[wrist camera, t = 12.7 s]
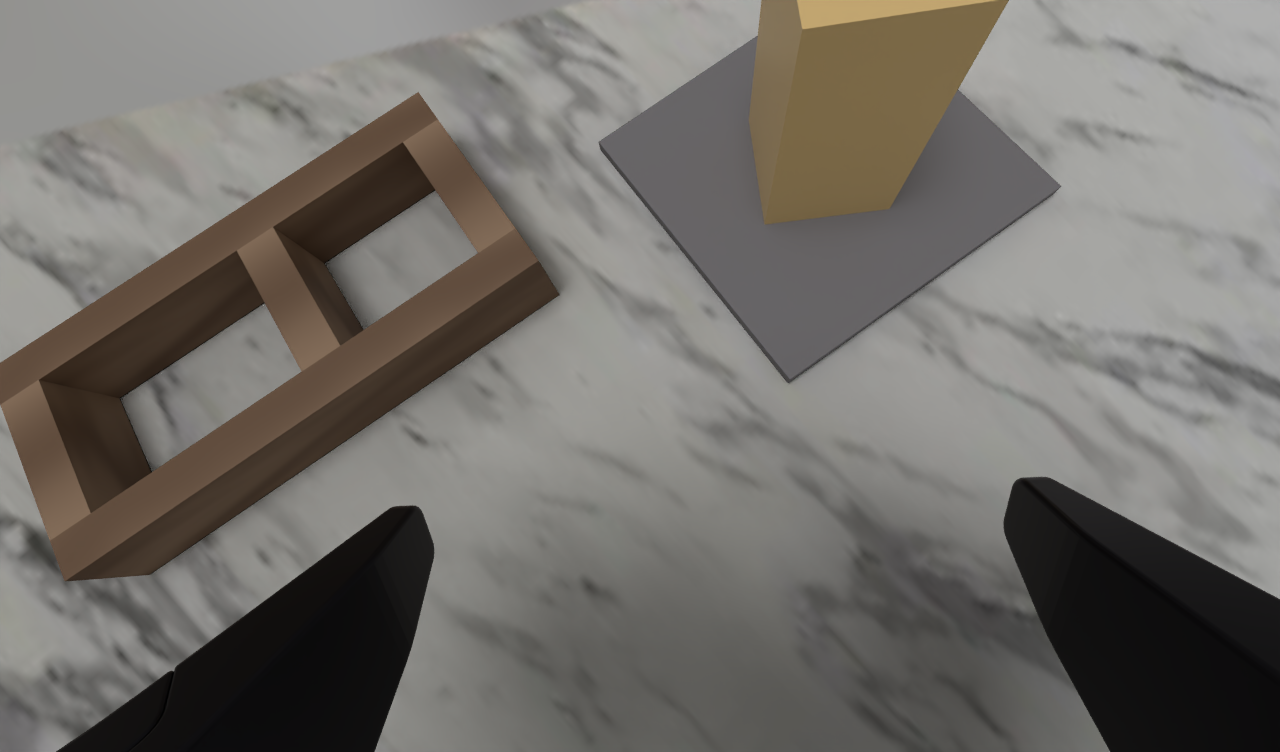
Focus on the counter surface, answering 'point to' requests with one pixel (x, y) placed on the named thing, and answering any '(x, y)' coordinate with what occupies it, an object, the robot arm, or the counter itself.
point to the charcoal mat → (820, 247)
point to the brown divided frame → (309, 322)
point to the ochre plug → (854, 96)
